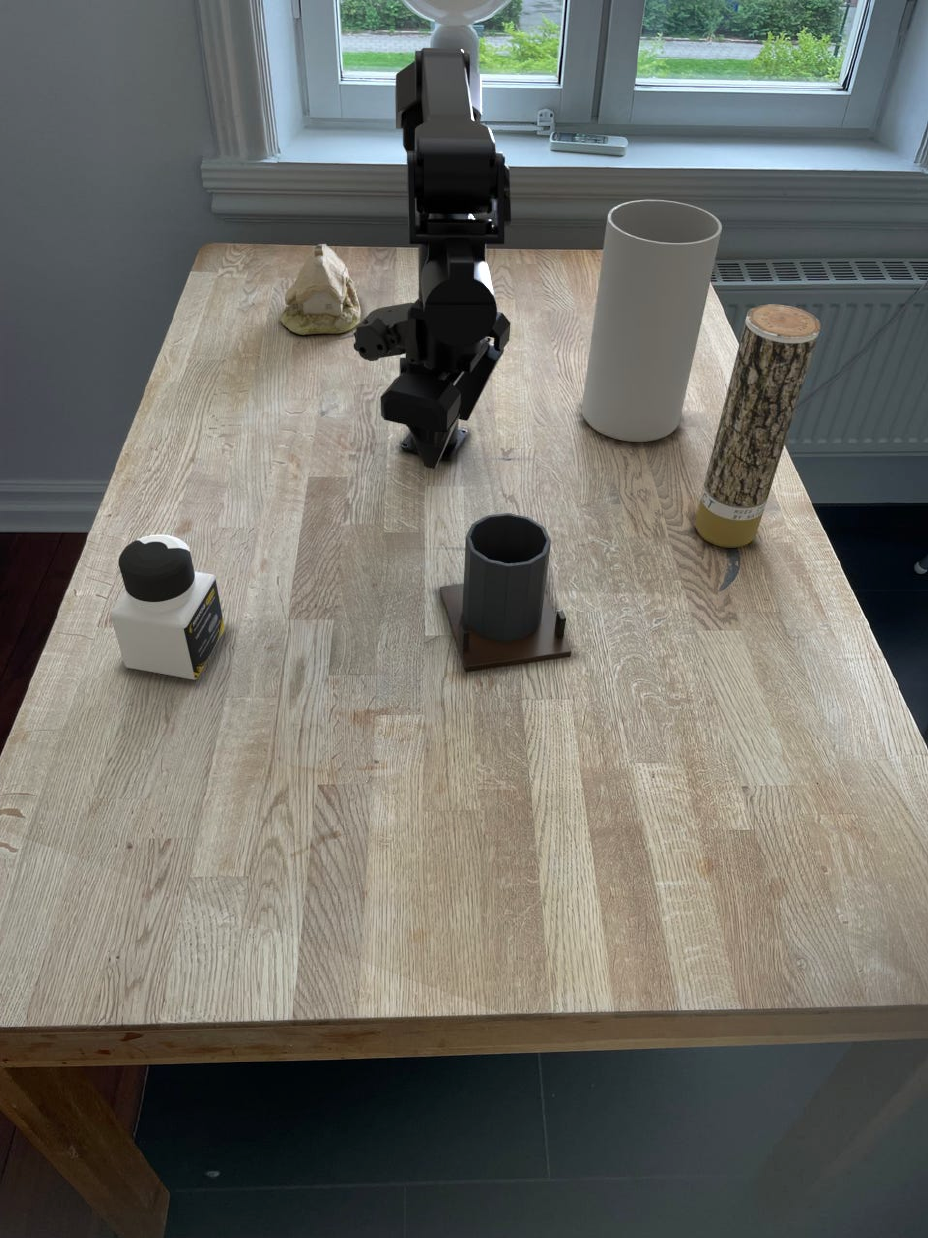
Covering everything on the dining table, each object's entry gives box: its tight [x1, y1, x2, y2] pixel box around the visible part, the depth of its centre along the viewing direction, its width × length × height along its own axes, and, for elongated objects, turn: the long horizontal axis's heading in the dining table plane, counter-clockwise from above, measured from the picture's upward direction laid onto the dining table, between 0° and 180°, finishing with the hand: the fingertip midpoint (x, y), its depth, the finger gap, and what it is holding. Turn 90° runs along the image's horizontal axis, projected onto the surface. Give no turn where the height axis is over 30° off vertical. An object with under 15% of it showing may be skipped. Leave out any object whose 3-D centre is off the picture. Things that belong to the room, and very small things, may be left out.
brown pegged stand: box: [438, 583, 572, 673], centre depth 95 cm, size 11×10×3 cm
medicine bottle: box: [109, 534, 226, 680], centre depth 88 cm, size 7×7×12 cm
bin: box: [462, 512, 552, 642], centre depth 92 cm, size 8×8×10 cm
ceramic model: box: [281, 243, 361, 336], centre depth 138 cm, size 14×11×10 cm
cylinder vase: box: [581, 199, 723, 443], centre depth 116 cm, size 12×12×25 cm
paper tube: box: [694, 303, 821, 549], centre depth 99 cm, size 7×7×25 cm
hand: (447, 442), depth 95 cm, fingers open, 9 cm apart
